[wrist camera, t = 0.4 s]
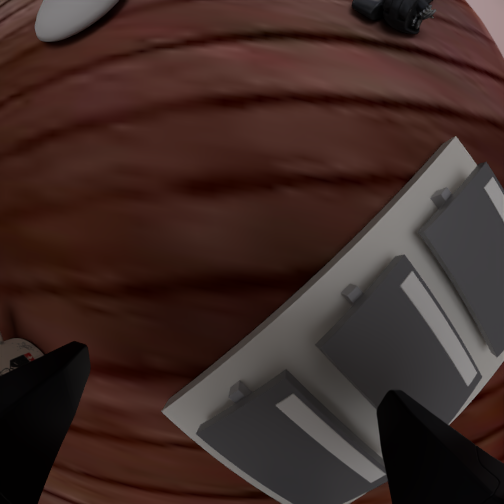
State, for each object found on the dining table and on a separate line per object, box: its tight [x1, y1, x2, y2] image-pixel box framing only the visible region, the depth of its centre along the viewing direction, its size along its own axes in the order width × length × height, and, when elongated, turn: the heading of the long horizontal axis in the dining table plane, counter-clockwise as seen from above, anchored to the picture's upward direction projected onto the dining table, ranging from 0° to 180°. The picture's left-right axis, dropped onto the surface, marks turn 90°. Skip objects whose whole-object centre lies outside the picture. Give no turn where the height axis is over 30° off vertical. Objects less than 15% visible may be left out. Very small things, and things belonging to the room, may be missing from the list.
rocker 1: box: [196, 369, 388, 504], centre depth 15 cm, size 12×7×1 cm, turn 42°
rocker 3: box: [417, 162, 504, 357], centre depth 15 cm, size 12×7×1 cm, turn 42°
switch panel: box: [161, 136, 504, 504], centre depth 18 cm, size 18×29×3 cm, turn 132°
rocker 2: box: [315, 254, 482, 425], centre depth 15 cm, size 12×7×1 cm, turn 42°
